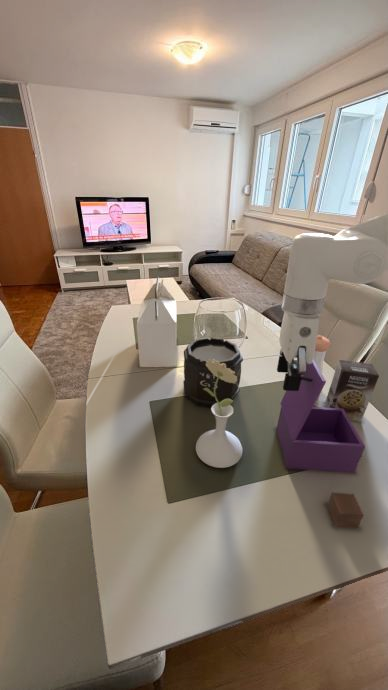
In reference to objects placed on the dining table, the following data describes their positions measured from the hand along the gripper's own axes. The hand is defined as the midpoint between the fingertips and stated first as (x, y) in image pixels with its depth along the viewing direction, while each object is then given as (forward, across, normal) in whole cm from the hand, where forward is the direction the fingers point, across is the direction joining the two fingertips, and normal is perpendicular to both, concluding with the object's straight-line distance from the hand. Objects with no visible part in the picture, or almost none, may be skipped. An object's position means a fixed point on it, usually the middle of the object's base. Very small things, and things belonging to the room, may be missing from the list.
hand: (287, 379), depth 65 cm
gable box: (+21, +45, +36) cm, 62 cm away
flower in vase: (+21, -2, +14) cm, 26 cm away
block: (+21, -17, -11) cm, 29 cm away
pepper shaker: (+21, +27, -16) cm, 38 cm away
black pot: (+21, +22, +16) cm, 35 cm away
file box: (+21, 0, -10) cm, 23 cm away
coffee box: (+21, +15, -23) cm, 34 cm away
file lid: (+4, 0, -4) cm, 5 cm away
